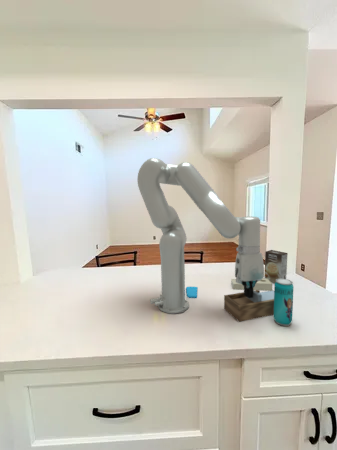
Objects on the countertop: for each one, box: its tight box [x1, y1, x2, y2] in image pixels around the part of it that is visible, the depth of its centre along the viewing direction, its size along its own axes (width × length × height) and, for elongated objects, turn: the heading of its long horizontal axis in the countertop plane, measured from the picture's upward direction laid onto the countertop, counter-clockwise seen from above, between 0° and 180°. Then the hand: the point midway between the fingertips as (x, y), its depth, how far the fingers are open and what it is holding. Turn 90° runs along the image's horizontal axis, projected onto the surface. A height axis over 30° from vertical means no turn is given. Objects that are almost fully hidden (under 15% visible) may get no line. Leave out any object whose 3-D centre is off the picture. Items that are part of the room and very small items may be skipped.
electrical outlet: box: [230, 277, 273, 292], centre depth 107 cm, size 7×4×18 cm
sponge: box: [185, 286, 198, 299], centre depth 102 cm, size 2×12×6 cm
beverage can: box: [273, 278, 294, 327], centre depth 74 cm, size 6×6×15 cm
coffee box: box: [263, 249, 288, 284], centre depth 113 cm, size 9×6×16 cm
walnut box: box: [223, 290, 274, 323], centre depth 83 cm, size 16×10×6 cm, turn 107°
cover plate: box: [247, 290, 274, 302], centre depth 85 cm, size 13×7×4 cm, turn 105°
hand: (248, 296), depth 82 cm, fingers closed
